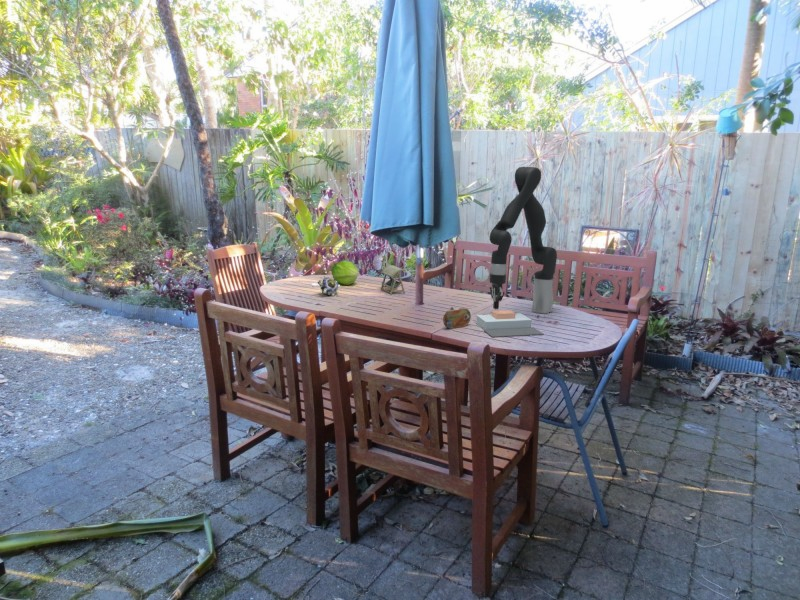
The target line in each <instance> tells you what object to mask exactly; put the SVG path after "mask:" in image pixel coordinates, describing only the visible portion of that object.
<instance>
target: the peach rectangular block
mask: <svg viewBox="0 0 800 600" xmlns="http://www.w3.org/2000/svg"><path fill="white" fill-rule="evenodd" d="M491 314H492V316H493V317H494V318H495V319H514V318H515V311H513V310H511V309H499V310H498V309H496V310H491Z"/></svg>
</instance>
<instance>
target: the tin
mask: <svg viewBox="0 0 800 600" xmlns="http://www.w3.org/2000/svg"><path fill="white" fill-rule="evenodd" d="M471 318H472V316H471V312H470V310H469V309H467V308H464V307H461V308H454V309H450V310H447V311H446V312H445V313H444V314H443V318H442V322H443V326H444V327H445V328H446V329H450V330H454V329H458V328H463V327H466V326H468V325H469V323H470V321H471Z"/></svg>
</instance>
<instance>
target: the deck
mask: <svg viewBox="0 0 800 600" xmlns="http://www.w3.org/2000/svg"><path fill="white" fill-rule="evenodd" d="M514 313H515V312H514ZM475 322H476V325H478V326H479V327H480V328H481V329H483V331H484V330H493V329H513V328H532V319H531V318H529V317H527V316H525V314H523V313H520V312H519V313H518V312H517V313H515V318H514V319H495V318H494V317H493V316H492V313H491V314H476V320H475Z"/></svg>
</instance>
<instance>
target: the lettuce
mask: <svg viewBox="0 0 800 600" xmlns="http://www.w3.org/2000/svg"><path fill="white" fill-rule="evenodd" d="M359 273H360V272H359V269H358V267H357V265H356V264H354V263H353V262H352V261H348V260H346V261H345V260H341V261H339V262H336V263H334V264H333V265H332V268H331V277H332V279H335V281H337V284H339V285H343V286H348V285H349V286H350V285H352V284H354V283H355V282H356V280H357V279H358V277H359Z"/></svg>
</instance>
